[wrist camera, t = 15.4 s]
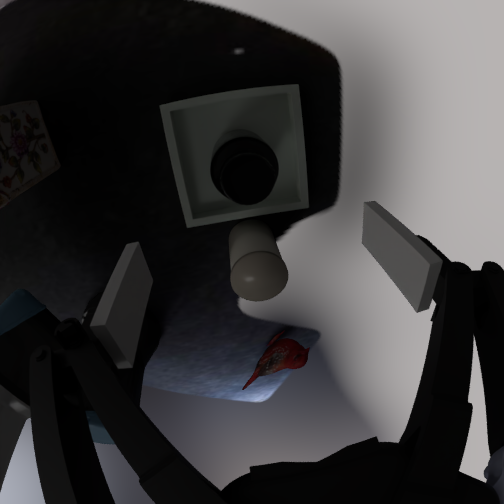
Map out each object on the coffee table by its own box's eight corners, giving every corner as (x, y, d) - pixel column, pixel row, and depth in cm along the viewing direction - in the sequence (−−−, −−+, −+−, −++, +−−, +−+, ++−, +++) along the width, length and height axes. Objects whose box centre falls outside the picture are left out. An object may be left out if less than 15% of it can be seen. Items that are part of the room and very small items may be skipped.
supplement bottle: (275, 165, 36) (299, 197, 25) (228, 189, 37) (231, 230, 26) (251, 118, 32) (266, 128, 22) (202, 143, 33) (193, 166, 23)
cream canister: (231, 262, 44) (235, 305, 36) (223, 222, 40) (226, 259, 32) (276, 255, 44) (289, 296, 36) (271, 214, 40) (286, 249, 32)
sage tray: (189, 218, 39) (187, 228, 37) (164, 104, 31) (159, 105, 28) (302, 199, 40) (308, 207, 37) (292, 84, 31) (298, 84, 29)
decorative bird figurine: (304, 318, 52) (318, 360, 43) (245, 368, 58) (249, 407, 49) (293, 312, 51) (307, 355, 42) (234, 363, 57) (237, 404, 48)
